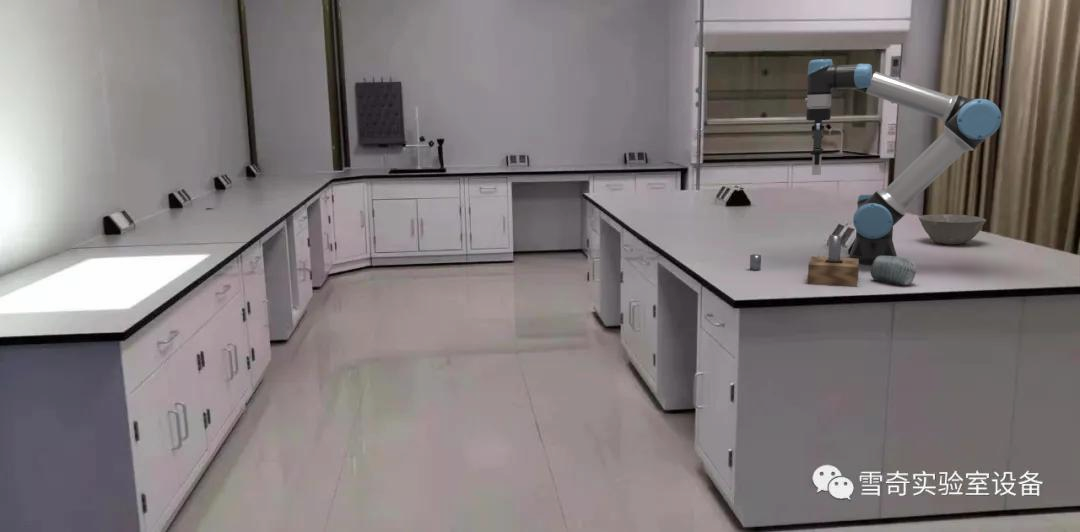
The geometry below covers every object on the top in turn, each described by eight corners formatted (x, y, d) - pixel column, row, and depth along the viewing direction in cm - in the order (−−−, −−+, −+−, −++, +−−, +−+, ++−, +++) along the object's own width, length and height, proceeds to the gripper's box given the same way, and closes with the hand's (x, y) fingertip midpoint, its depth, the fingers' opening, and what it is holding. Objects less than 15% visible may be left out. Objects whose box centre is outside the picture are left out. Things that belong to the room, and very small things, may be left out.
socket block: (857, 277, 257) (858, 258, 255) (856, 286, 244) (857, 267, 243) (811, 274, 262) (812, 256, 261) (807, 283, 249) (808, 264, 248)
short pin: (761, 269, 272) (761, 254, 271) (759, 271, 269) (760, 256, 268) (750, 268, 274) (751, 254, 273) (749, 270, 270) (749, 255, 270)
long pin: (839, 279, 254) (841, 235, 251) (838, 282, 251) (841, 237, 248) (827, 279, 255) (829, 234, 253) (826, 281, 252) (828, 236, 249)
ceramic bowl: (995, 248, 301) (998, 221, 299) (932, 249, 301) (934, 222, 299) (965, 238, 323) (967, 213, 321) (907, 239, 323) (908, 214, 321)
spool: (858, 270, 252) (877, 242, 250) (876, 280, 257) (894, 253, 255) (891, 288, 240) (911, 260, 238) (909, 299, 245) (928, 271, 243)
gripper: (807, 108, 280) (805, 170, 284) (806, 108, 257) (803, 176, 261) (830, 107, 277) (828, 169, 281) (831, 108, 254) (828, 176, 258)
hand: (816, 173), depth 271 cm, fingers open, 13 cm apart
